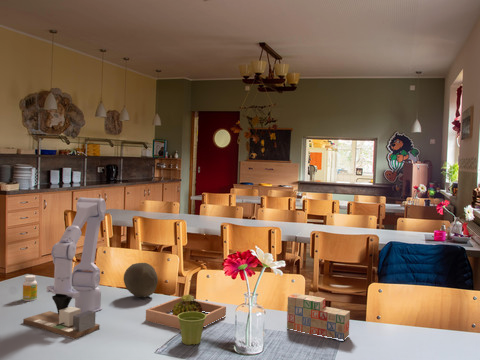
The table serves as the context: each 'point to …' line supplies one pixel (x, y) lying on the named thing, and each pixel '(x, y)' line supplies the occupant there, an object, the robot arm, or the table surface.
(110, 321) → the table surface
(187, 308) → the cactus
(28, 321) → the gauge track
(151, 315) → the planter frame
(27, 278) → the supplement bottle
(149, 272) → the dark brown ball
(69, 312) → the block
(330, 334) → the stack of blocks
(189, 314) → the plant pot
